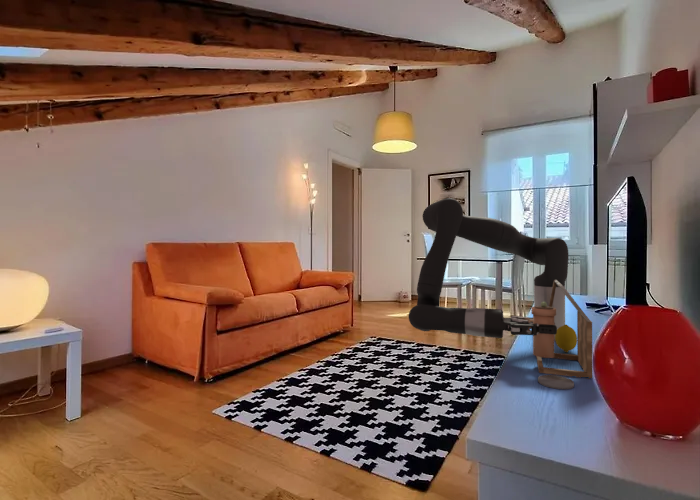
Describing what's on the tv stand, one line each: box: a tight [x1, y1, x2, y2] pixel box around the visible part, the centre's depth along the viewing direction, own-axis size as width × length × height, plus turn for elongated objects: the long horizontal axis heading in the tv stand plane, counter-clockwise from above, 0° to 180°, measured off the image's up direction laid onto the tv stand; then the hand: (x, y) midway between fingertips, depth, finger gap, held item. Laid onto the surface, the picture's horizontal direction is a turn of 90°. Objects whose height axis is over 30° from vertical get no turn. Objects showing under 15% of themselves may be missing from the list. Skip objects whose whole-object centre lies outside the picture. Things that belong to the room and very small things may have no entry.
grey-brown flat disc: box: [537, 374, 575, 390], centre depth 85 cm, size 7×7×1 cm
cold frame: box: [535, 280, 593, 379], centre depth 97 cm, size 16×11×21 cm
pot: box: [531, 302, 556, 359], centre depth 97 cm, size 6×6×14 cm
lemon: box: [554, 324, 577, 353], centre depth 110 cm, size 6×6×8 cm
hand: (555, 327), depth 96 cm, fingers closed on pot, 4 cm apart
